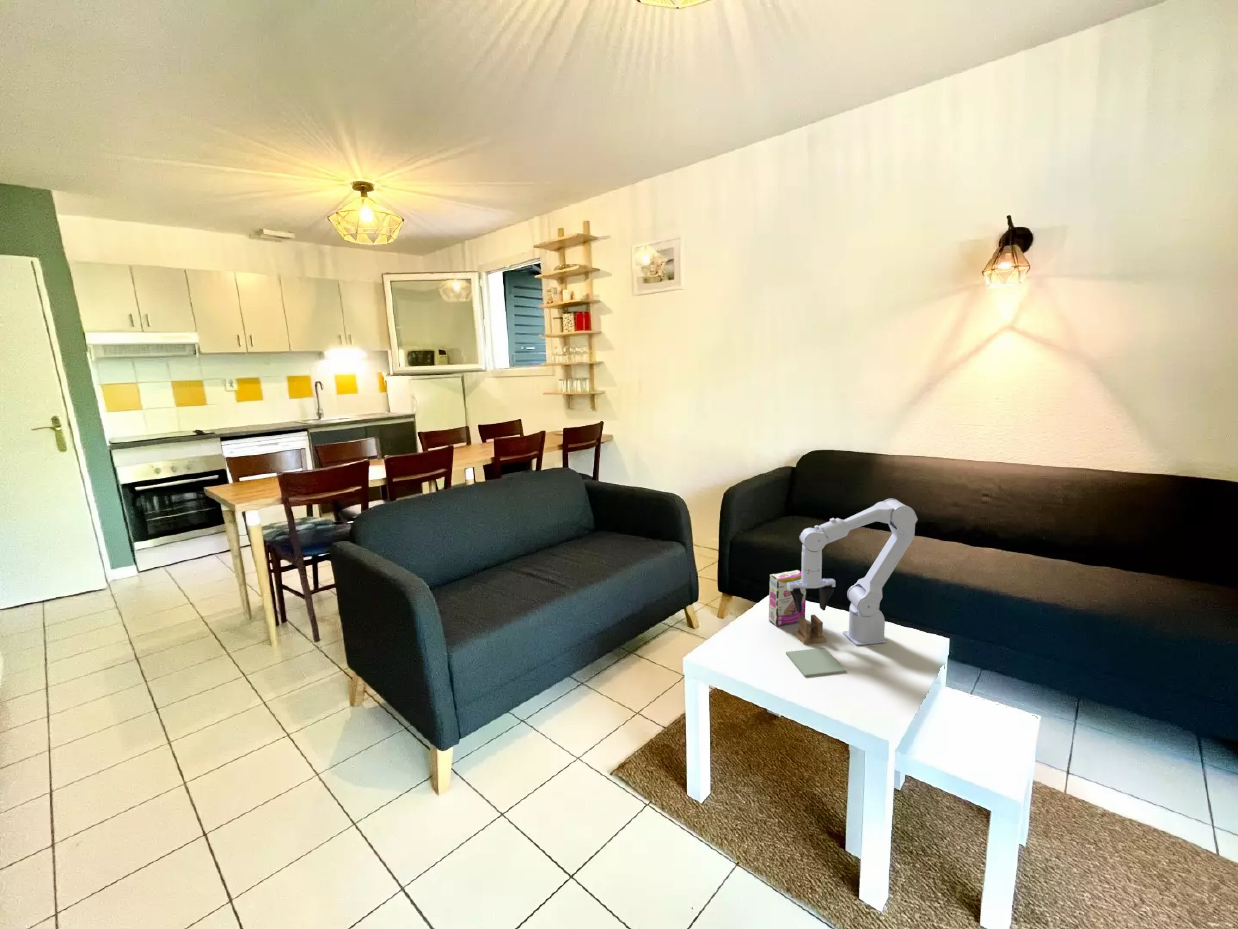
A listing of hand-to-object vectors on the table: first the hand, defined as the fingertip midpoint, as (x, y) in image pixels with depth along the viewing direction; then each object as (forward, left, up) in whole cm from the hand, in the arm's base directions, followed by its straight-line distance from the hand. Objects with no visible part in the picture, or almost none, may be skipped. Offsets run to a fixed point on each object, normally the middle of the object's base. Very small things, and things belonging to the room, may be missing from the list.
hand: (810, 610), depth 160 cm
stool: (0, 0, -10) cm, 10 cm away
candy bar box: (+2, -12, -10) cm, 15 cm away
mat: (+5, +13, -9) cm, 17 cm away
